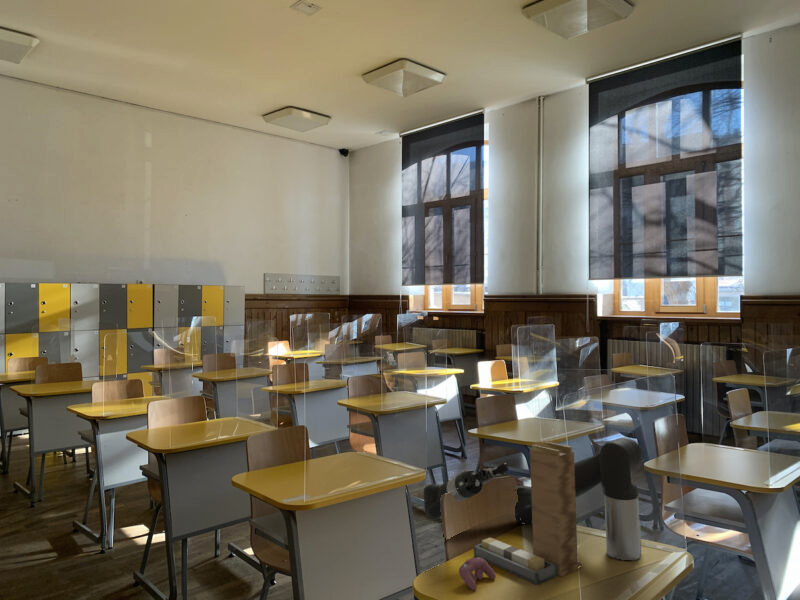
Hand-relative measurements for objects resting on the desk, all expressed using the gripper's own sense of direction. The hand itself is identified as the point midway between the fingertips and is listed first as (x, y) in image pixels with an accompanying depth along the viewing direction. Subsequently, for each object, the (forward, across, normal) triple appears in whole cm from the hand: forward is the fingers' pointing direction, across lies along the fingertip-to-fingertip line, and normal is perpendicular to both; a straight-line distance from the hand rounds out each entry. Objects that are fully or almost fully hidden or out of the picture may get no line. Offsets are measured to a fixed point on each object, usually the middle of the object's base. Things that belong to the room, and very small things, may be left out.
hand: (496, 469), depth 171 cm
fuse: (-8, 0, +24) cm, 26 cm away
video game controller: (-8, -14, +26) cm, 31 cm away
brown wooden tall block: (-2, +9, +29) cm, 31 cm away
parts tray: (-8, 0, +25) cm, 27 cm away
